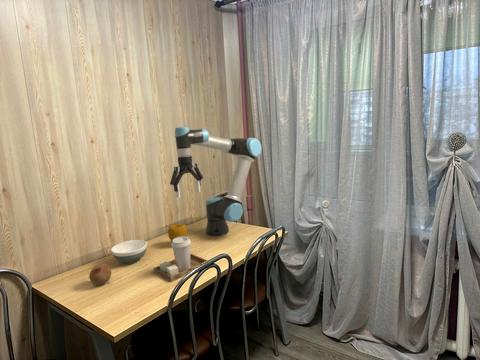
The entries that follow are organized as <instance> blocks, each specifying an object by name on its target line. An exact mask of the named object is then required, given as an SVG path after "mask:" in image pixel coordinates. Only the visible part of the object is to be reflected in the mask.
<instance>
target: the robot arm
mask: <svg viewBox="0 0 480 360" xmlns="http://www.w3.org/2000/svg"><path fill="white" fill-rule="evenodd" d="M174 137H175V145H176V146H175V147H176V154H177V163H178V166H173V172H172V175H171V180H170V182H169V184H170V185H171V186H173V190H174V192H175V197H176V198H179V199H180V198H181V193H180V185H179V183H180V182H181V179H182V177H183V176H184V175H187V174H189V173H190V174H191V176H192V177H193V178H194V179H195V181H194V182H195V191H196V193H201V181H202V179H204V177H203V175H202V173H201V170H200V169H199V167H198V164H197V162H196V163H195V162H194V163H193V156H192V145H193V146H194V145H195V146H199V147H204V148H208V149H214V150H218V151H219V150H220V151H222V152H223V153H227V154H229V155H233V156H236V158H237V162H236V165H235V169H234V171H233V174H232V178H231V181H230V185H229V187H228V192H227V194H226V195H224V196H215V197H211V198H207V199H206V201H205V207H206V210H205V211H206V218H207V222H206V227H205V234H206V235H207V236H210V237H211V236H212V237H219V236H223V235H225V234H226V235H227V234H228V233H229V232H230V228H229V225H228V222H230V223H231V222H232V223H233V222H237V221H239V220H240V219H241V217H242V216H243V214H244V209H243V206H242V203H243V202H242V200H241V198H242V194H243V192H244V191H243V190H244V188H245V185H246V182H247V178H248V175H249V172H250V169H251V165H252V163H254V162H255V160H256V158H258V157H259V156H260V155H261V153H262V144H261V142H260V141H259V140H258V139H257V138H256V137H239V138H238V137H237V138H232V137H231V138H230V137H225V138H224V137H218V136H214V135H210V132H209V130H207V129H206V128H199V129H190V127H189V126H178V127H175V129H174Z"/></svg>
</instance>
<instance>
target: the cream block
mask: <svg viewBox="0 0 480 360" xmlns="http://www.w3.org/2000/svg"><path fill="white" fill-rule="evenodd" d="M167 274H168V275H170V276H174V275H176V274H179V272H178V267H177V266H175V265H172V266H169V267H167Z"/></svg>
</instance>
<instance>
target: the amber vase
mask: <svg viewBox="0 0 480 360" xmlns="http://www.w3.org/2000/svg"><path fill="white" fill-rule="evenodd" d="M167 235H168V238H169V240H170V241H171V242H172V241H173V239H175V238H177V237H188V236H187V235H188V229H187V225H186V224H183V223H175V224H171V225H170V226H169V227H168V230H167Z"/></svg>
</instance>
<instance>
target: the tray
mask: <svg viewBox="0 0 480 360" xmlns="http://www.w3.org/2000/svg"><path fill="white" fill-rule="evenodd" d="M206 261H209V260H207V259H205V258H203V257H200V256H199V255H195V254H193V253H191V252H190V269H187V270H185V271H178V272H179V274H176V275H174V276H170V275H168V274H166V273H165V272H163V271H161V270H160V265H157V266H156V267H153V269H152V270H153V273H156V274H157V275H159V276H160V277H162V278H164V279H165V280H167V281H170V282H171V283H172V282H175V281H177V280H179V279H181V278H183V276H184V277H186V276H187V275H186V274H187V273H188V272H189V271H191V270H192V269H194V268H196V267H197V266H199V265H201V264H202V263H204V262H206ZM168 262H169V263H171V264H172V265H175V266H176V261H175V258H174V259H172V260H170V261H168ZM185 275H186V276H185Z"/></svg>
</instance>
